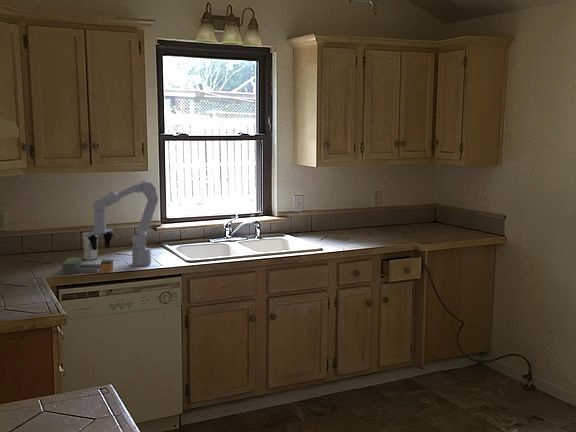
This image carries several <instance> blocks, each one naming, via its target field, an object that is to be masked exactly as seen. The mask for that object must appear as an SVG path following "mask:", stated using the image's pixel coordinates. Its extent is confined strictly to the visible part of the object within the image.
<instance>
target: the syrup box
mask: <svg viewBox="0 0 576 432" xmlns="http://www.w3.org/2000/svg"><path fill="white" fill-rule="evenodd" d="M88 232H89V231H88ZM88 232H83V233H82V253H83V256H82V258H83V259H84V260H87V261H93V260H97V259H99V235H95V236H96V237H98V239H97V250H93V248H92V245H91V242H90V240H89V239H88V236H87V233H88Z"/></svg>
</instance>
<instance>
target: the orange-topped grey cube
mask: <svg viewBox="0 0 576 432" xmlns="http://www.w3.org/2000/svg"><path fill="white" fill-rule="evenodd" d="M100 264H101V269H100V272H101V271H111V272H112V271H114V259H102V260H101V261H100Z"/></svg>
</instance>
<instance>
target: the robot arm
mask: <svg viewBox="0 0 576 432" xmlns="http://www.w3.org/2000/svg"><path fill="white" fill-rule="evenodd" d="M134 193H139V194H140V193H142V194H144V196H145V198H146V199H147V201H146V205H145V207H144V209H143V213H142V217H141V219H140V222H139V225H138V228H137V229H136V231H135V233H134V234H133V236H132V238H131V242H132V246H131V260H132V262H131V264H130V266H131V267H133V266H135V267H139V266H140V267H143V266H145V267H147V266H150V265H151V263H152V257H151V256H152V254H151V253H152V252H151V247H147V246H146V245H147V237H148V230H149V227H150V224H151V222H152V219H153V216H154V213H155V210H156V207H157V204H158V201H159V198H158V193H157V189H156V187H155V185H154V184H153V182H151V181H149V180H147V179H146V180H145V179H144V180H141V181H139V182H136V183H133V184H132V185H129V186H128V187H126V188H123V189H121V190H120V191H118V192H116V191H109V193H108V194H106V195H101V196H100V198H99V197H98V198H95V199H94V200H93V202H92V207H93V224H94V225H93V226H94V229H93V230H92V231H88V233H87V232H86V233H87V236H88V239H89V240H90V242H91V245H92V248H93V250H97V239H98V240H99V236H100V235H101V236H102V235H103V239H104V247H105V248H109V247H110V243H111V240H112V238H113V236H114V229H113V228H107V220H106V217H107V216H106V215H107V214H106V208H107V207H110V206H112V205H115V204H117V203H119V202H120V200H121V199H122V198H124V197H126V196H128V195H131V194H134ZM95 235H98V237H96V236H95Z"/></svg>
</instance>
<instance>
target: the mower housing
mask: <svg viewBox="0 0 576 432" xmlns="http://www.w3.org/2000/svg"><path fill="white" fill-rule="evenodd" d="M82 258H83V257H69V258H68V259H66V260H65V261H63V262H62V263H61V267H62V269H61V271H62V273H67V274H66V275H73V274H72V273H75V274H78V273H79V274H80V273H81V274H92V273H93V274H97V273H98V269H100V270H101V263H91V264H89V263H88V264H86V263H85V264H84V263H83V259H82Z"/></svg>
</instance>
